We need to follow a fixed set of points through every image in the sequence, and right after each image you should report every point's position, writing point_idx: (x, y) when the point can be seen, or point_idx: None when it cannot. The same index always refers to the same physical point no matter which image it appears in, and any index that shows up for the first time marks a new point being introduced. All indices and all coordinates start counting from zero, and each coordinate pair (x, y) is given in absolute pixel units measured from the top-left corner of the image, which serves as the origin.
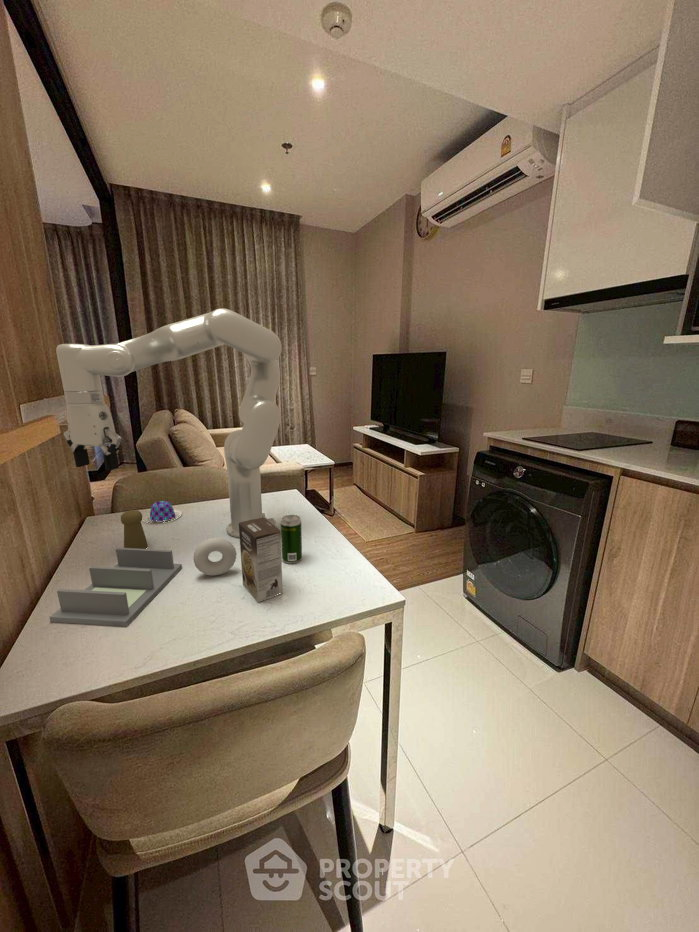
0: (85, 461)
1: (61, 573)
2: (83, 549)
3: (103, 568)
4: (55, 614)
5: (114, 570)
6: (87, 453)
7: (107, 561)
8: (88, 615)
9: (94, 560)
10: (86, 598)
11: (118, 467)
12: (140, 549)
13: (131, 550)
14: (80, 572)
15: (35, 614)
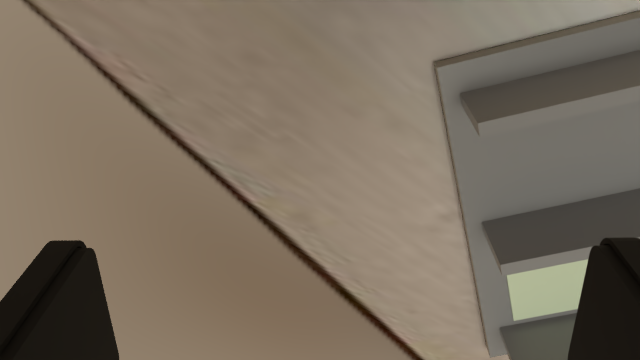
0: (85, 318)
1: (261, 183)
2: (135, 16)
3: (560, 262)
4: (496, 347)
5: None
6: (22, 357)
7: (345, 60)
8: None
9: (283, 73)
10: None
11: (632, 240)
12: (603, 100)
13: (559, 116)
14: (321, 157)
15: (414, 338)
